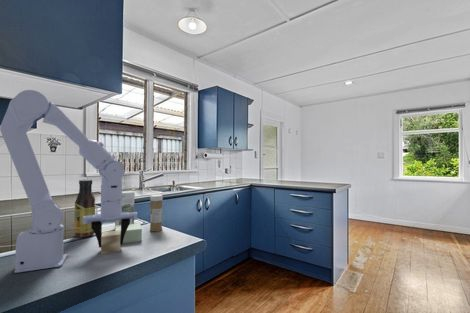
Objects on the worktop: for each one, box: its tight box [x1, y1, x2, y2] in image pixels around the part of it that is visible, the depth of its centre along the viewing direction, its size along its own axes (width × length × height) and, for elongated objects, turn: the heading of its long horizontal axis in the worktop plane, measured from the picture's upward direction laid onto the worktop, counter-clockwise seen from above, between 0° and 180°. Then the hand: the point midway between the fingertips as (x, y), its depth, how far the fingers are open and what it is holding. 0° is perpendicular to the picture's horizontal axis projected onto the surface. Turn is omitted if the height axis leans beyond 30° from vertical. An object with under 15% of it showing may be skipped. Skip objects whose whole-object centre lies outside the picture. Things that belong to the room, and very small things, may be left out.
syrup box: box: [114, 190, 135, 228], centre depth 98 cm, size 6×6×14 cm
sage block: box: [114, 222, 143, 244], centre depth 85 cm, size 8×8×4 cm
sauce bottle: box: [73, 178, 96, 238], centre depth 89 cm, size 7×6×20 cm
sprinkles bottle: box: [149, 194, 164, 232], centre depth 96 cm, size 5×5×14 cm
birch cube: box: [100, 230, 121, 255], centre depth 75 cm, size 5×5×5 cm
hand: (111, 245), depth 75 cm, fingers closed on birch cube, 5 cm apart
